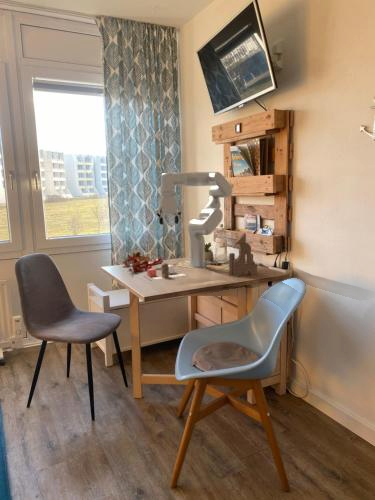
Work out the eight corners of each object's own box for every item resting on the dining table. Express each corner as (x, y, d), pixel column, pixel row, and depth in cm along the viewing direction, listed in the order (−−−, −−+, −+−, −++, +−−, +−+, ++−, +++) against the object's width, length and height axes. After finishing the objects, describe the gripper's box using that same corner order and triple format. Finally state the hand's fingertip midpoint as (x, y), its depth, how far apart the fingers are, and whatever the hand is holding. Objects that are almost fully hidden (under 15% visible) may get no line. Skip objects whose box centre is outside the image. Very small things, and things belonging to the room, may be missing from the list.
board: (178, 273, 230) (177, 264, 229) (188, 277, 218) (188, 268, 217) (142, 277, 220) (142, 268, 219) (151, 283, 207) (151, 273, 206)
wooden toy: (253, 272, 228) (253, 231, 224) (257, 275, 221) (257, 232, 217) (228, 274, 225) (228, 232, 221) (231, 277, 218) (232, 234, 214)
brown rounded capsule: (167, 275, 217) (166, 262, 216) (170, 277, 214) (169, 263, 212) (160, 276, 215) (160, 262, 214) (163, 278, 212) (162, 264, 211)
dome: (172, 271, 226) (172, 263, 226) (176, 273, 222) (175, 265, 221) (164, 272, 224) (164, 264, 223) (168, 274, 219) (167, 266, 219)
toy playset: (115, 267, 253) (114, 246, 250) (152, 263, 264) (151, 243, 262) (131, 277, 222) (130, 254, 219) (172, 272, 233) (172, 250, 231)
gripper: (178, 194, 227) (179, 222, 230) (152, 194, 220) (153, 224, 222) (184, 194, 221) (185, 223, 224) (157, 195, 213) (157, 225, 216)
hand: (169, 223), depth 223 cm, fingers open, 9 cm apart
